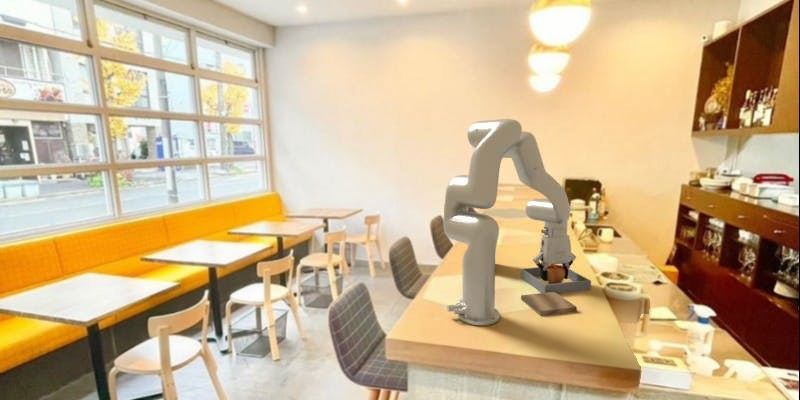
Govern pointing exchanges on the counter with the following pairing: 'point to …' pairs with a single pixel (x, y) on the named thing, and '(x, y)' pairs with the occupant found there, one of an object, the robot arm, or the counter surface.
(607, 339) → the counter surface
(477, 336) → the counter surface
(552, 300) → the board
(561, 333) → the counter surface
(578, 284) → the bin
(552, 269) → the apple
